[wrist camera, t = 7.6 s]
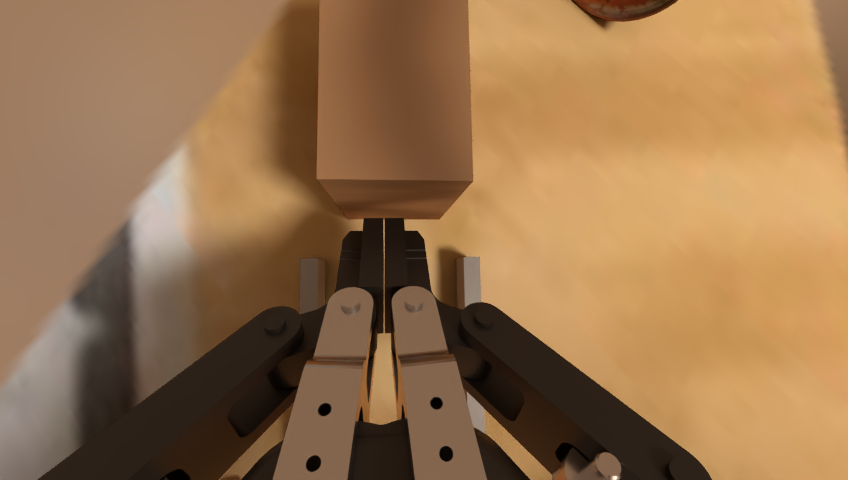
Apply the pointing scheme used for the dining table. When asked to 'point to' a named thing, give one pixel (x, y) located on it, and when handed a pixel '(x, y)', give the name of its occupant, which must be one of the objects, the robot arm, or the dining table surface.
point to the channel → (466, 294)
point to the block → (394, 106)
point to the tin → (624, 8)
